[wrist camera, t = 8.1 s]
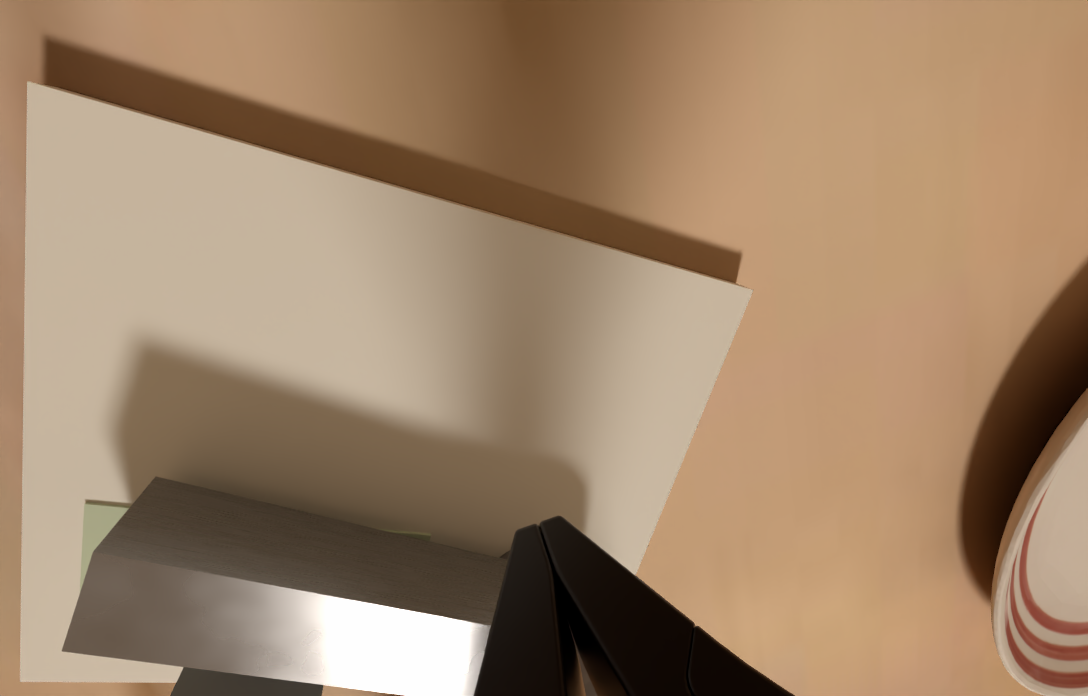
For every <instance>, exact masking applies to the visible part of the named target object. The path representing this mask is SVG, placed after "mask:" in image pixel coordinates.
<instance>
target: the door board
mask: <svg viewBox="0 0 1088 696" xmlns="http://www.w3.org/2000/svg"><path fill="white" fill-rule="evenodd" d="M752 292H753V290H752V289H749V288H747V287H744V286H742V285H739V284H736V283H733V282H730V281H726V280H723V279H719V278H716V277H712V276H709V275H705V274H702V273H698V272H695V271H691V270H688V269H685V268H681V267H678V266H674V265H671V264H667V263H664V262H660V261H657V260H653V259H650V258H646V257H643V256H640V255H636V254H633V253H629V252H626V251H622V250H619V249H615V248H612V247H608V246H605V245H601V244H598V243H595V242H591V241H588V240H584V239H581V238H577V237H574V236H570V235H567V234H563V233H560V232H556V231H553V230H550V229H546V228H543V227H539V226H536V225H532V224H529V223H525V222H522V221H518V220H515V219H511V218H508V217H505V216H501V215H498V214H494V213H491V212H487V211H484V210H480V209H477V208H473V207H470V206H466V205H463V204H460V203H456V202H453V201H449V200H446V199H442V198H439V197H435V196H432V195H428V194H425V193H421V192H418V191H415V190H411V189H408V188H404V187H401V186H397V185H394V184H390V183H387V182H383V181H380V180H377V179H373V178H370V177H366V176H363V175H359V174H356V173H352V172H349V171H345V170H342V169H338V168H335V167H332V166H328V165H325V164H321V163H318V162H314V161H311V160H307V159H304V158H300V157H297V156H293V155H290V154H287V153H283V152H280V151H276V150H273V149H269V148H266V147H262V146H259V145H255V144H252V143H248V142H245V141H242V140H238V139H235V138H231V137H228V136H224V135H221V134H217V133H214V132H210V131H207V130H203V129H200V128H197V127H193V126H190V125H186V124H183V123H179V122H176V121H172V120H169V119H165V118H162V117H158V116H155V115H152V114H148V113H145V112H141V111H138V110H134V109H131V108H127V107H124V106H120V105H117V104H113V103H110V102H107V101H103V100H100V99H96V98H93V97H89V96H86V95H82V94H79V93H75V92H72V91H68V90H65V89H62V88H58V87H54V86H49V85H44V84H39V83H34V82H29V81H27V148H26V230H25V312H24V394H23V476H22V558H21V640H20V682H158V683H176V685H175V687H174V689H173V691H172V693H171V695H170V696H321V695H322V690H323V685H320V684H312V683H304V682H297V681H289V680H281V679H273V678H265V677H257V676H250V675H242V674H234V673H226V672H218V671H211V670H203V669H195V668H187V667H179V666H171V665H164V664H156V663H148V662H140V661H132V660H125V659H117V658H109V657H101V656H93V655H85V654H78V653H70V652H62V648H63V645H64V642H65V639H66V635H67V632H68V629H69V626H70V623H71V620H72V616H73V613H74V610H75V607H76V604H77V601H78V597H79V594H80V591H81V588H82V585H83V582H84V579H85V575H86V572H87V569H88V566H89V563H90V560H91V556H92V553H93V551H94V550H95V549H96V547H97V546H98V545H99V544H100V543H101V541H102V540H103V539H104V538H105V537H106V535H107V534H108V533H109V532H110V531H111V529H112V528H113V527H114V526H115V525H116V523H117V522H118V521H119V520H120V519H121V517H122V516H123V515H124V514H125V513H126V511H127V510H128V509H129V508H130V507H131V505H132V504H133V503H134V502H135V501H136V499H137V498H138V497H139V496H140V495H141V493H142V492H143V491H144V490H145V489H146V487H147V486H148V485H149V484H150V483H151V481H152V480H153V479H154V478H155V477H161V478H165V479H169V480H173V481H178V482H182V483H186V484H190V485H194V486H199V487H203V488H207V489H211V490H215V491H220V492H224V493H228V494H232V495H236V496H241V497H245V498H249V499H253V500H257V501H262V502H266V503H270V504H274V505H278V506H283V507H287V508H291V509H295V510H300V511H304V512H308V513H312V514H316V515H321V516H325V517H329V518H333V519H337V520H342V521H346V522H350V523H354V524H358V525H363V526H367V527H371V528H375V529H379V530H384V531H388V532H392V533H396V534H400V535H405V536H409V537H413V538H417V539H421V540H426V541H430V542H434V543H438V544H443V545H447V546H451V547H455V548H459V549H464V550H468V551H472V552H476V553H480V554H485V555H489V556H493V557H497V558H501V559H506V560H508V557H509V553H510V549H511V545H512V542H513V538H514V534H515V532H516V530H518V529H520V528H523V527H526V526H529V525H532V524H537V525H538V526H539V524H540V522H541V521H543V520H546V519H549V518H552V517H555V516H562V517H563V518H565V519H566V520H567V521H569V522H570V523H571V524H572V525H573V526H575V527H576V528H577V529H578V530H580V531H581V532H582V533H583V534H585V535H586V536H587V537H588V538H590V539H591V540H592V541H593V542H595V543H596V544H597V545H598V546H600V547H601V548H602V549H603V550H604V551H606V552H607V553H608V554H609V555H611V556H612V557H613V558H614V559H616V560H617V561H618V562H619V563H621V564H622V565H623V566H624V567H626V568H627V569H628V570H629V571H631V572H632V573H633V574H634V575H636V573H637V571H638V568H639V566H640V563H641V561H642V558H643V556H644V554H645V551H646V549H647V546H648V544H649V542H650V539H651V537H652V534H653V532H654V529H655V527H656V525H657V522H658V520H659V517H660V515H661V512H662V510H663V508H664V505H665V503H666V500H667V498H668V496H669V493H670V491H671V488H672V486H673V483H674V481H675V479H676V476H677V474H678V471H679V469H680V467H681V464H682V462H683V459H684V457H685V454H686V452H687V450H688V447H689V445H690V442H691V440H692V437H693V435H694V433H695V430H696V428H697V425H698V423H699V421H700V418H701V416H702V413H703V411H704V408H705V406H706V404H707V401H708V399H709V396H710V394H711V392H712V389H713V387H714V384H715V382H716V379H717V377H718V375H719V372H720V370H721V367H722V365H723V362H724V360H725V358H726V355H727V353H728V350H729V348H730V346H731V343H732V341H733V338H734V336H735V333H736V331H737V329H738V326H739V324H740V321H741V319H742V317H743V314H744V312H745V309H746V307H747V304H748V302H749V300H750V297H751V295H752ZM539 528H540V527H539Z"/></svg>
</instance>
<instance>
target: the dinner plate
mask: <svg viewBox="0 0 1088 696" xmlns="http://www.w3.org/2000/svg"><path fill="white" fill-rule="evenodd" d="M991 620H992V629H993V636H994V640H995V644H996V648H997V651H998V654H999V656H1000V658H1001V660H1002V663H1003V665H1004V666H1005V668H1006V670H1007V671H1008V672H1009V673H1010V675H1011V676H1012V677H1013V678H1014V679H1015V680H1016V681H1017V682H1019V683H1020V684H1021V685H1023V686H1024V687H1026V688H1027V689H1029V690H1030V691H1033V692H1036V693H1038V694H1041V695H1045V696H1088V388H1087V389H1086V390H1085V391H1084V393H1083V394H1082V395H1081V396H1080V397H1079V399H1078V400H1077V401H1076V403H1075V404H1074V405H1073V407H1072V408H1071V409H1070V411H1069V412H1068V414H1067V415H1066V416H1065V418H1064V419H1063V420H1062V422H1061V423H1060V424H1059V426H1058V427H1057V428H1056V430H1055V431H1054V433H1053V435H1052V436H1051V438H1050V439H1049V441H1048V443H1047V444H1046V446H1045V448H1044V449H1043V451H1042V452H1041V454H1040V456H1039V457H1038V459H1037V460H1036V462H1035V464H1034V465H1033V467H1032V469H1031V471H1030V473H1029V475H1028V477H1027V479H1026V481H1025V483H1024V485H1023V487H1022V488H1021V491H1020V493H1019V495H1018V497H1017V499H1016V502H1015V504H1014V506H1013V509H1012V511H1011V514H1010V516H1009V519H1008V521H1007V524H1006V527H1005V530H1004V533H1003V536H1002V539H1001V543H1000V547H999V551H998V555H997V559H996V564H995V570H994V576H993V582H992V595H991Z"/></svg>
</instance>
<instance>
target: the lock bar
mask: <svg viewBox="0 0 1088 696" xmlns="http://www.w3.org/2000/svg"><path fill="white" fill-rule="evenodd" d="M507 561H508V560H506V559H501V558H497V557H493V556H489V555H485V554H480V553H476V552H472V551H468V550H464V549H459V548H455V547H451V546H447V545H443V544H438V543H434V542H430V541H426V540H421V539H417V538H413V537H409V536H405V535H400V534H396V533H392V532H388V531H384V530H379V529H375V528H371V527H367V526H363V525H358V524H354V523H350V522H346V521H342V520H337V519H333V518H329V517H325V516H321V515H316V514H312V513H308V512H304V511H300V510H295V509H291V508H287V507H283V506H278V505H274V504H270V503H266V502H262V501H257V500H253V499H249V498H245V497H241V496H236V495H232V494H228V493H224V492H220V491H215V490H211V489H207V488H203V487H199V486H194V485H190V484H186V483H182V482H178V481H173V480H169V479H165V478H161V477H155V478H154V479H153V480H152V481H151V483H150V484H149V485H148V486H147V487H146V489H145V490H144V491H143V492H142V493H141V495H140V496H139V497H138V498H137V499H136V501H135V502H134V503H133V504H132V505H131V507H130V508H129V509H128V510H127V511H126V513H125V514H124V515H123V516H122V517H121V519H120V520H119V521H118V522H117V523H116V525H115V526H114V527H113V528H112V529H111V531H110V532H109V533H108V534H107V535H106V537H105V538H104V539H103V540H102V541H101V543H100V544H99V545H98V546H97V547H96V549H95V550H94V551H93V553H92V556H91V560H90V563H89V566H88V569H87V572H86V575H85V579H84V582H83V585H82V588H81V591H80V594H79V597H78V601H77V604H76V607H75V610H74V613H73V616H72V620H71V623H70V626H69V629H68V632H67V635H66V639H65V642H64V645H63V648H62V652H70V653H78V654H85V655H93V656H101V657H109V658H117V659H125V660H132V661H140V662H148V663H156V664H164V665H171V666H179V667H187V668H195V669H203V670H211V671H218V672H226V673H234V674H242V675H250V676H257V677H265V678H273V679H281V680H289V681H297V682H304V683H312V684H320V685H328V686H336V687H343V688H351V689H359V690H367V691H375V692H383V693H390V694H398V695H406V696H473V695H474V691H475V687H476V683H477V679H478V675H479V671H480V667H481V663H482V659H483V655H484V651H485V647H486V644H487V640H488V636H489V632H490V628H491V624H492V620H493V616H494V612H495V608H496V604H497V600H498V596H499V593H500V589H501V585H502V581H503V577H504V573H505V569H506V565H507ZM569 626H570V625H569ZM571 633H572V632H571ZM572 636H573V635H572ZM573 639H574V638H573ZM574 643H575V641H574ZM575 647H576V644H575ZM576 650H577V647H576ZM577 654H578V659H579V663H580V668H581V673H582V678H583V683H584V689H585V694H586V696H597V694H596V692H595V689H594V687H593V685H592V683H591V680H590V678H589V676H588V674H587V671H586V669H585V667H584V665H583V662H582V660H581V657H580V655H579V653H578V650H577Z"/></svg>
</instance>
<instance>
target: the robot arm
mask: <svg viewBox="0 0 1088 696" xmlns="http://www.w3.org/2000/svg"><path fill="white" fill-rule="evenodd" d="M539 527H540V528H539ZM569 625H570V626H569ZM571 632H572V633H571ZM572 635H573V636H572ZM573 638H574V639H573ZM574 641H575V643H574ZM575 644H576V647H577V650H578V653H579V655H580V657H581V660H582V662H583V665H584V667H585V669H586V671H587V674H588V676H589V678H590V680H591V683H592V685H593V687H594V689H595V692H596V694H597V696H795V695H793V694H792V693H790V692H788V691H787V690H785V689H784V688H782V687H781V686H779V685H778V684H776V683H775V682H773V681H772V680H770V679H769V678H767V677H766V676H764V675H763V674H761V673H760V672H758V671H757V670H755V669H754V668H752V667H751V666H750V665H748V664H747V663H745V662H744V661H743V660H741V659H740V658H739V657H737V656H736V655H735V654H733V653H732V652H731V651H729V650H728V649H727V648H726V647H724V646H723V645H722V644H720V643H719V642H718V641H716V640H715V639H714V638H713V637H711V636H710V635H709V634H708V633H706V632H705V631H704V630H703V629H702V628H700V627H699V626H695V624H694V622H693V621H691V620H690V619H689V618H688V617H686V616H685V615H684V614H683V613H681V612H680V611H679V610H678V609H676V608H675V607H674V606H673V605H671V604H670V603H669V602H668V601H666V600H665V599H664V598H663V597H662V596H660V595H659V594H658V593H657V592H655V591H654V590H653V589H652V588H650V587H649V586H648V585H647V584H645V583H644V582H643V581H642V580H640V579H639V578H638V577H637V576H635V575H634V574H633V573H632V572H631V571H629V570H628V569H627V568H626V567H624V566H623V565H622V564H621V563H619V562H618V561H617V560H616V559H614V558H613V557H612V556H611V555H609V554H608V553H607V552H606V551H604V550H603V549H602V548H601V547H600V546H598V545H597V544H596V543H595V542H593V541H592V540H591V539H590V538H588V537H587V536H586V535H585V534H583V533H582V532H581V531H580V530H578V529H577V528H576V527H575V526H573V525H572V524H571V523H570V522H569V521H567V520H566V519H565V518H563V517H562V516H555V517H552V518H549V519H546V520H543V521H541V522H540V524H539V526H538V525H537V524H532V525H529V526H526V527H523V528H520V529H518V530H516V532H515V534H514V538H513V542H512V545H511V549H510V553H509V557H508V561H507V565H506V569H505V573H504V577H503V581H502V585H501V589H500V593H499V596H498V600H497V604H496V608H495V612H494V616H493V620H492V624H491V628H490V632H489V636H488V640H487V644H486V647H485V651H484V655H483V659H482V663H481V667H480V671H479V675H478V679H477V683H476V687H475V691H474V695H473V696H586V694H585V689H584V683H583V678H582V673H581V668H580V663H579V659H578V654H577V650H576V647H575Z"/></svg>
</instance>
